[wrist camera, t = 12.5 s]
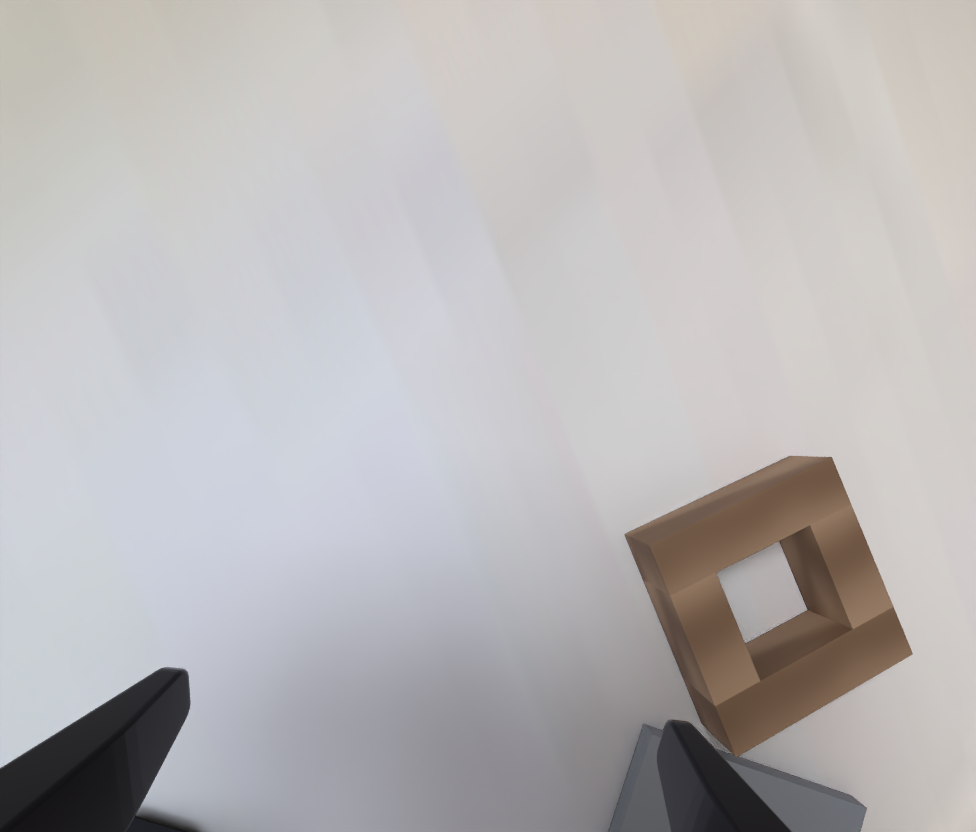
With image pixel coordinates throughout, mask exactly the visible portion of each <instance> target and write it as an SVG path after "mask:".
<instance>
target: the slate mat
mask: <svg viewBox="0 0 976 832" xmlns="http://www.w3.org/2000/svg"><path fill="white" fill-rule="evenodd" d="M662 733H663V731H662V730H659V729H656V728H653V727H650V726H647V725H643V728H642V731H641V734H640V737H639V740H638V743H637V746H636V749H635V752H634V755H633V758H632V761H631V764H630V768H629V771H628V774H627V777H626V780H625V783H624V786H623V789H622V792H621V795H620V798H619V801H618V804H617V807H616V810H615V813H614V816H613V820H612V823H611V826H610V829H609V832H671V830H670V825H669V820H668V815H667V810H666V806H665V801H664V796H663V791H662V786H661V782H660V777H659V772H658V767H657V749H658V746H659V743H660V739H661V736H662ZM716 750H717V749H716ZM717 751H718V753H719V754H720V755H721V756H722V757H723V758H724V759H725V760H726V761H727V762H728V763H729V764H730V765H731V766H732V768H733V769H734V770H735V771H736V772H737V773H738V774H739V775H740V776H741V777H742V778H743V779H744V780H745V781H746V783H747V784H748V785H749V786H750V787H751V788H752V789H753V790H754V791H755V792H756V793H757V794H758V795H759V797H760V798H761V799H762V800H763V801H764V802H765V803H766V804H767V805H768V806H769V807H770V808H771V809H772V810H773V812H774V813H775V814H776V815H777V816H778V817H779V818H780V819H781V820H782V821H783V822H784V823H785V824H786V825H787V827H788V828H789V829H790V830H791V831H792V832H860V831H861V828H862V824H863V820H864V816H865V813H866V809H867V808H866V807H865V806H864V805H862V804H861V803H860V802H859V801H857V800H856V799H855V798H854V797H853V796H851V795H848V794H845V793H842V792H839V791H836V790H833V789H831V788H828V787H825V786H822V785H819V784H816V783H813V782H810V781H807V780H804V779H801V778H799V777H796V776H793V775H790V774H787V773H784V772H781V771H778V770H775V769H772V768H769V767H767V766H764V765H761V764H758V763H755V762H752V761H749V760H746V759H743V758H740V757H735V756H734V755H732V754H729V753H726V752H723V751H720V750H717Z"/></svg>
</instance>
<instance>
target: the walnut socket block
mask: <svg viewBox="0 0 976 832" xmlns="http://www.w3.org/2000/svg"><path fill="white" fill-rule="evenodd" d="M625 537H626V539H627V542H628V544H629V547H630V549H631V551H632V554H633V556H634V559H635V561H636V564H637V566H638V569H639V571H640V573H641V576H642V578H643V581H644V583H645V586H646V588H647V591H648V593H649V595H650V598H651V600H652V603H653V605H654V608H655V610H656V613H657V615H658V618H659V620H660V622H661V625H662V627H663V630H664V632H665V635H666V637H667V640H668V642H669V644H670V647H671V649H672V652H673V654H674V657H675V659H676V662H677V664H678V666H679V669H680V671H681V674H682V676H683V679H684V681H685V684H686V686H687V689H688V691H689V693H690V696H691V698H692V701H693V703H694V706H695V708H696V711H697V713H698V715H699V718H700V720H701V723H702V724H703V725H704V726H705V727H706V728H707V729H708V730H709V731H710V732H711V733H712V734H713V735H714V736H715V737H716V738H717V739H718V740H719V741H720V742H721V743H722V744H723V745H724V746H725V747H726V748H727V749H728V750H729V751H730V752H731V753H732V754H733V755H734V756H735V757H738V756H739V755H741V754H743V753H744V752H746V751H748V750H750V749H751V748H753V747H755V746H756V745H758V744H760V743H762V742H763V741H765V740H767V739H768V738H770V737H772V736H774V735H775V734H777V733H779V732H780V731H782V730H784V729H786V728H787V727H789V726H791V725H792V724H794V723H796V722H797V721H799V720H801V719H803V718H804V717H806V716H808V715H809V714H811V713H813V712H815V711H816V710H818V709H820V708H821V707H823V706H825V705H827V704H828V703H830V702H832V701H833V700H835V699H837V698H839V697H840V696H842V695H844V694H845V693H847V692H849V691H850V690H852V689H854V688H856V687H857V686H859V685H861V684H862V683H864V682H866V681H868V680H869V679H871V678H873V677H874V676H876V675H878V674H880V673H881V672H883V671H885V670H886V669H888V668H890V667H892V666H893V665H895V664H897V663H898V662H900V661H902V660H903V659H905V658H907V657H909V656H910V655H912V654H913V653H912V651H911V648H910V646H909V644H908V641H907V639H906V636H905V634H904V631H903V629H902V627H901V624H900V622H899V619H898V617H897V614H896V612H895V610H894V607H893V605H892V602H891V600H890V597H889V595H888V593H887V590H886V588H885V585H884V583H883V580H882V578H881V576H880V573H879V571H878V568H877V566H876V563H875V561H874V559H873V556H872V554H871V551H870V549H869V546H868V544H867V542H866V539H865V537H864V534H863V532H862V529H861V527H860V525H859V522H858V520H857V517H856V515H855V512H854V510H853V508H852V505H851V503H850V500H849V498H848V495H847V493H846V491H845V488H844V486H843V483H842V481H841V478H840V476H839V474H838V471H837V469H836V466H835V464H834V461H833V459H832V457H808V456H789V457H787V458H784V459H782V460H780V461H778V462H776V463H774V464H772V465H770V466H768V467H765V468H763V469H761V470H759V471H757V472H755V473H753V474H751V475H749V476H746V477H744V478H742V479H740V480H738V481H736V482H734V483H732V484H730V485H727V486H725V487H723V488H721V489H719V490H717V491H715V492H713V493H711V494H708V495H706V496H704V497H702V498H700V499H698V500H696V501H694V502H692V503H689V504H687V505H685V506H683V507H681V508H679V509H677V510H675V511H672V512H670V513H668V514H666V515H664V516H662V517H660V518H658V519H656V520H653V521H651V522H649V523H647V524H645V525H643V526H641V527H639V528H637V529H634V530H632V531H630V532H628V533H626V534H625ZM778 541H780V543H781V545H782V548H783V550H784V553H785V555H786V558H787V560H788V563H789V565H790V567H791V570H792V572H793V575H794V577H795V580H796V582H797V584H798V587H799V589H800V592H801V594H802V597H803V599H804V602H805V604H806V606H807V609H808V610H807V611H805V612H804V613H802V614H800V615H798V616H796V617H794V618H793V619H791V620H789V621H787V622H785V623H783V624H781V625H780V626H778V627H776V628H774V629H772V630H770V631H768V632H767V633H765V634H763V635H761V636H759V637H757V638H756V639H754V640H752V641H750V642H748V643H746V644H745V642H744V640H743V637H742V635H741V633H740V630H739V628H738V625H737V623H736V620H735V618H734V615H733V613H732V611H731V608H730V606H729V603H728V601H727V598H726V596H725V593H724V591H723V589H722V586H721V584H720V581H719V579H718V576H717V574H716V572H718V571H720V570H722V569H724V568H726V567H728V566H730V565H732V564H734V563H736V562H738V561H740V560H742V559H744V558H746V557H748V556H750V555H752V554H754V553H756V552H758V551H760V550H762V549H764V548H766V547H768V546H770V545H772V544H774V543H776V542H778Z"/></svg>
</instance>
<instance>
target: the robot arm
mask: <svg viewBox="0 0 976 832" xmlns="http://www.w3.org/2000/svg"><path fill="white" fill-rule="evenodd" d="M189 709H190V689H189V675H188V672H187V671H186V670H185V669H181V668H171V667H164V668H161V669H159V670H157V671H155V672H154V673H152V674H151V675H149V676H147V677H146V678H144V679H143V680H141V681H139V682H138V683H136V684H135V685H133V686H131V687H130V688H128V689H127V690H125V691H123V692H122V693H120V694H119V695H117V696H115V697H114V698H112V699H111V700H109V701H107V702H106V703H104V704H103V705H101V706H99V707H98V708H96V709H95V710H93V711H91V712H90V713H88V714H87V715H85V716H83V717H82V718H80V719H78V720H77V721H75V722H74V723H72V724H70V725H69V726H67V727H66V728H64V729H62V730H61V731H59V732H58V733H56V734H54V735H53V736H51V737H50V738H48V739H46V740H45V741H43V742H42V743H40V744H38V745H37V746H35V747H34V748H32V749H30V750H29V751H27V752H26V753H24V754H22V755H21V756H19V757H18V758H16V759H14V760H13V761H11V762H10V763H8V764H6V765H5V766H3V767H1V768H0V832H185V831H181V830H178V829H174V828H171V827H167V826H164V825H160V824H157V823H153V822H149V821H146V820H142V819H139V818H135V815H136V813H137V811H138V810H139V808H140V806H141V804H142V802H143V800H144V799H145V797H146V795H147V793H148V791H149V789H150V787H151V785H152V783H153V781H154V779H155V777H156V776H157V774H158V772H159V770H160V768H161V766H162V764H163V762H164V760H165V758H166V756H167V754H168V752H169V751H170V749H171V747H172V745H173V743H174V741H175V739H176V737H177V735H178V733H179V731H180V729H181V727H182V725H183V724H184V722H185V720H186V718H187V715H188V713H189ZM657 767H658V772H659V777H660V782H661V786H662V791H663V796H664V801H665V806H666V810H667V815H668V820H669V825H670V830H671V832H792V831H791V830H790V829H789V828H788V827H787V825H786V824H785V823H784V822H783V821H782V820H781V819H780V818H779V817H778V816H777V815H776V814H775V813H774V812H773V810H772V809H771V808H770V807H769V806H768V805H767V804H766V803H765V802H764V801H763V800H762V799H761V798H760V797H759V795H758V794H757V793H756V792H755V791H754V790H753V789H752V788H751V787H750V786H749V785H748V784H747V783H746V781H745V780H744V779H743V778H742V777H741V776H740V775H739V774H738V773H737V772H736V771H735V770H734V769H733V768H732V766H731V765H730V764H729V763H728V762H727V761H726V760H725V759H724V758H723V757H722V756H721V755H720V754H719V753H718V751H717V750H716V749H715V748H714V747H713V746H712V745H711V744H710V743H709V742H708V741H707V740H706V739H705V738H704V736H703V735H702V734H701V733H700V732H699V731H698V730H697V729H696V728H695V727H694V726H693V725H692V724H691V723H689V722H687V721H679V720H668V721H667V722H666V724H665V726H664V729H663V733H662V736H661V739H660V743H659V746H658V749H657Z"/></svg>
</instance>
